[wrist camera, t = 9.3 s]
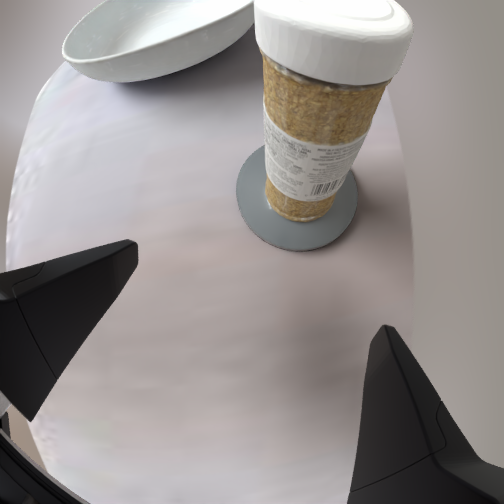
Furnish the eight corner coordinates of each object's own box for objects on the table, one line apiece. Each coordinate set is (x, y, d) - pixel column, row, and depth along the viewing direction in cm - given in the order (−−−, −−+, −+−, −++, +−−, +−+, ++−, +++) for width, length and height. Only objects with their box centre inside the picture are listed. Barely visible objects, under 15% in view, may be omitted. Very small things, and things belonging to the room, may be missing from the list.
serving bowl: (270, 1, 25) (268, -39, 19) (261, 104, 21) (258, 38, 14) (125, 20, 27) (110, -13, 20) (61, 125, 22) (26, 87, 16)
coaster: (336, 269, 17) (339, 266, 17) (218, 226, 18) (216, 223, 18) (364, 166, 19) (367, 160, 18) (261, 132, 20) (261, 125, 19)
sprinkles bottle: (320, 155, 18) (365, -26, 5) (344, 215, 17) (449, 43, 4) (255, 170, 18) (235, -26, 5) (274, 233, 17) (285, 34, 4)
